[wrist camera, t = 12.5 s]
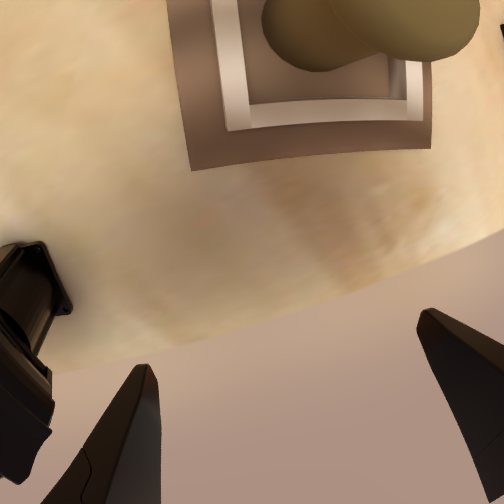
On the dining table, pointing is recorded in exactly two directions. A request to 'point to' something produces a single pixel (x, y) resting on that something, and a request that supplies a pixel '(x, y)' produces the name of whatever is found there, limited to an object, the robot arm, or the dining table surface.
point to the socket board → (285, 93)
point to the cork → (366, 30)
